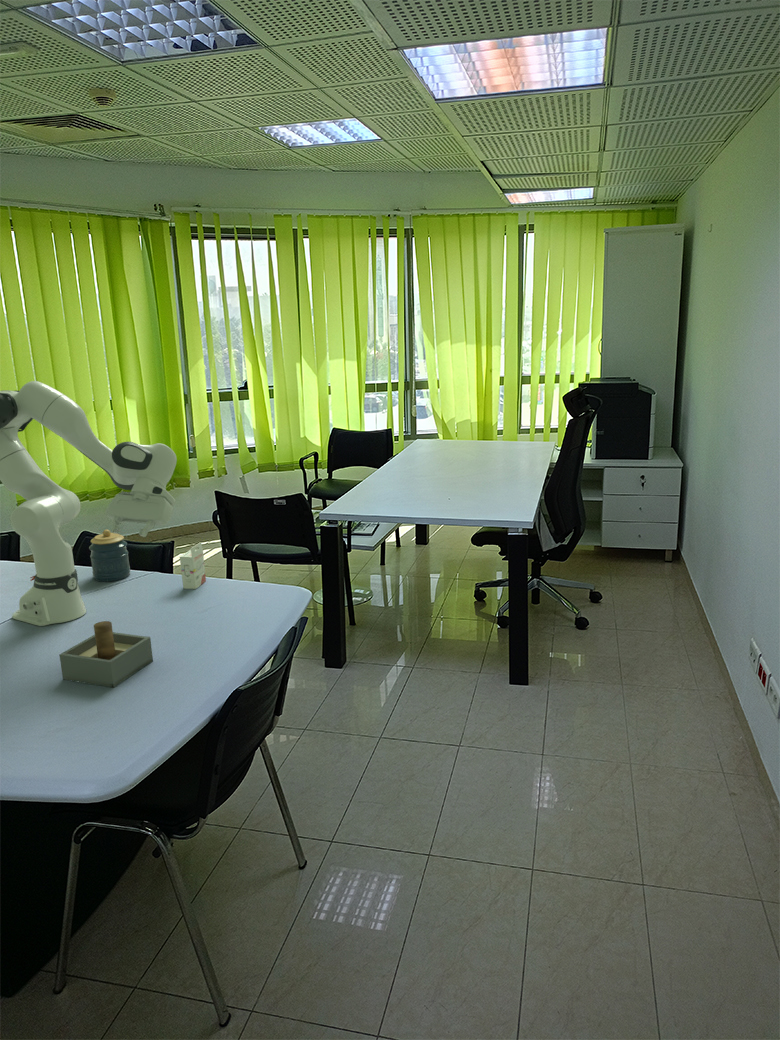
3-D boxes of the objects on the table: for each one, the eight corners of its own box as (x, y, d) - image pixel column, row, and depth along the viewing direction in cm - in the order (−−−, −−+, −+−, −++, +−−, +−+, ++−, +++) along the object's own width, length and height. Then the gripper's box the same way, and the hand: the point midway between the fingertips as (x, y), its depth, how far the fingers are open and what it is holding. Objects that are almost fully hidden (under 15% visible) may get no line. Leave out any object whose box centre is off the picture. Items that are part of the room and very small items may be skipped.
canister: (86, 581, 270) (79, 534, 266) (104, 570, 283) (98, 524, 278) (120, 582, 268) (114, 535, 264) (137, 570, 281) (131, 525, 276)
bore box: (63, 679, 196) (59, 654, 194) (104, 653, 211) (101, 630, 209) (113, 687, 191) (110, 662, 189) (153, 661, 205) (150, 637, 203)
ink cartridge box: (193, 580, 269) (189, 540, 265) (206, 581, 268) (202, 541, 264) (182, 588, 261) (178, 548, 257) (195, 589, 260) (191, 548, 256)
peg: (95, 669, 199) (89, 626, 196) (107, 662, 203) (101, 620, 200) (109, 671, 198) (103, 628, 195) (120, 664, 202) (115, 622, 199)
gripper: (112, 485, 225) (92, 525, 219) (170, 490, 218) (151, 531, 212) (123, 496, 230) (105, 536, 224) (180, 501, 223) (163, 542, 217)
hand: (128, 534), depth 218 cm, fingers open, 8 cm apart
